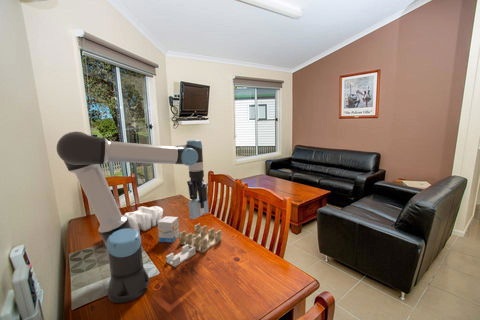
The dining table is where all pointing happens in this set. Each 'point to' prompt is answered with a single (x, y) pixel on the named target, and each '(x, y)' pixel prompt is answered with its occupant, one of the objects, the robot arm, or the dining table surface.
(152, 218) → the wavy white extrusion
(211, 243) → the rack
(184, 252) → the holder
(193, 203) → the pale blue slab
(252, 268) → the dining table surface
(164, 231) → the ink box
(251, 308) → the dining table surface
